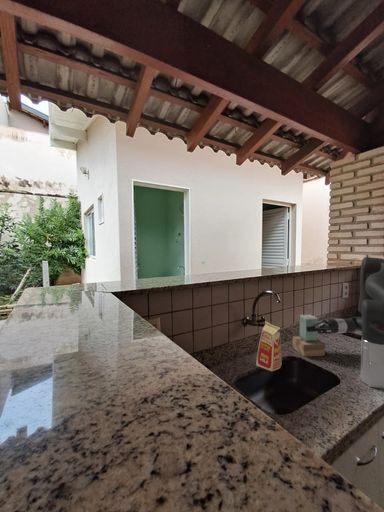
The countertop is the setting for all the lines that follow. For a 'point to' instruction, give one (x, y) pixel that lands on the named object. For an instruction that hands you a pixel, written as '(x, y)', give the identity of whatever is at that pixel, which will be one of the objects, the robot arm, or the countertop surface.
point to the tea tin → (308, 322)
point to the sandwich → (308, 347)
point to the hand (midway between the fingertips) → (303, 327)
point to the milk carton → (269, 348)
